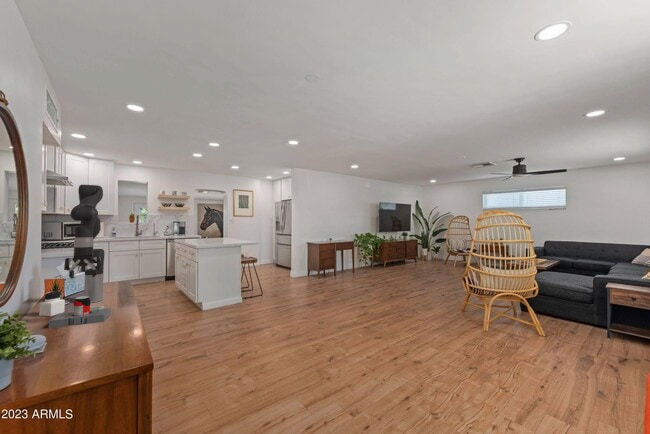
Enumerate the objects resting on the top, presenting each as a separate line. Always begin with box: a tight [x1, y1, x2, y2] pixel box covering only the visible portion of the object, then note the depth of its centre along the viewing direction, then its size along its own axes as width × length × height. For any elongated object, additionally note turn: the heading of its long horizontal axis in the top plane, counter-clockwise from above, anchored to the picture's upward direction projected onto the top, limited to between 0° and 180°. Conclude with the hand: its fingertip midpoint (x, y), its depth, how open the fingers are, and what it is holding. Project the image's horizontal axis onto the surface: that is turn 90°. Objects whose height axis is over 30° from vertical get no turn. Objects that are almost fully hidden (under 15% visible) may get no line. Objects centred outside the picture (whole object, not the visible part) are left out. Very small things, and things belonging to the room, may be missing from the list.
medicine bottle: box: [39, 290, 66, 317], centre depth 149 cm, size 7×7×12 cm
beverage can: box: [73, 295, 91, 317], centre depth 139 cm, size 6×6×12 cm
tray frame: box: [72, 305, 105, 312], centre depth 150 cm, size 12×12×2 cm
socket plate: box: [48, 307, 112, 329], centre depth 139 cm, size 21×12×4 cm, turn 115°
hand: (83, 277), depth 140 cm, fingers open, 8 cm apart
